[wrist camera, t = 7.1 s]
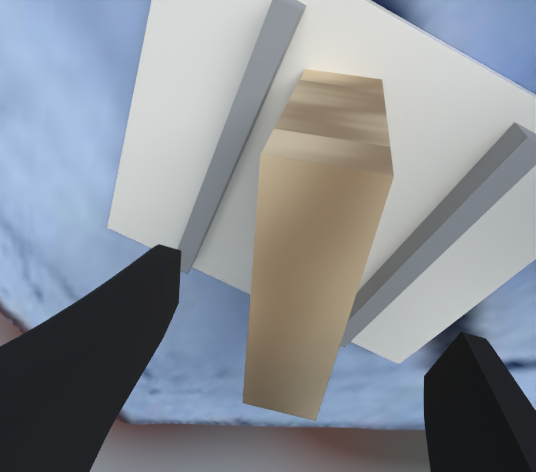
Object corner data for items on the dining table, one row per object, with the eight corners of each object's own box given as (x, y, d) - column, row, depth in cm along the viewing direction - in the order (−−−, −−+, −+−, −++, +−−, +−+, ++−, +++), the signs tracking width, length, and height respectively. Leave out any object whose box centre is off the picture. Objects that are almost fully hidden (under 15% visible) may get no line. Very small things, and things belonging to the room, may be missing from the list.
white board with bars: (638, 153, 15) (681, 185, 13) (397, 349, 25) (400, 385, 23) (186, -105, 13) (152, -116, 11) (117, 216, 23) (92, 242, 21)
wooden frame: (382, 79, 15) (393, 176, 8) (330, 282, 21) (315, 420, 15) (305, 69, 15) (260, 154, 9) (278, 272, 22) (242, 403, 15)
